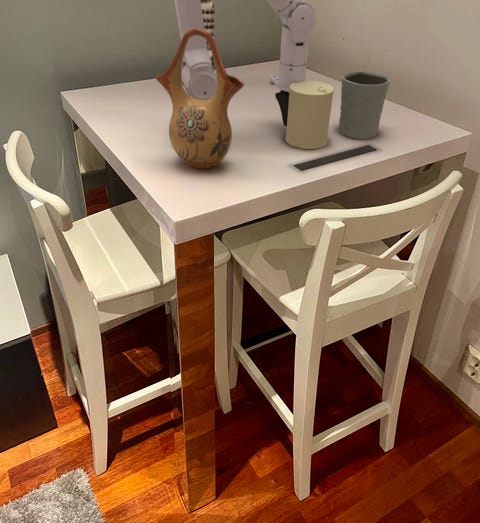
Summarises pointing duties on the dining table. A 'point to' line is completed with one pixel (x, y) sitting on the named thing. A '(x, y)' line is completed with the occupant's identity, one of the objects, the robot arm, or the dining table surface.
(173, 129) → the ceramic vessel
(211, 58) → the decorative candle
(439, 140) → the dining table surface
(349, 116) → the embossed green cup
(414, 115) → the dining table surface
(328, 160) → the strip
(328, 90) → the can
